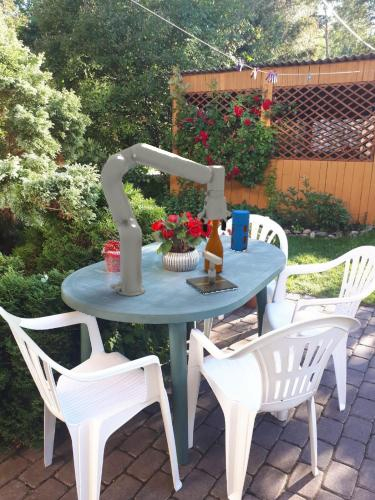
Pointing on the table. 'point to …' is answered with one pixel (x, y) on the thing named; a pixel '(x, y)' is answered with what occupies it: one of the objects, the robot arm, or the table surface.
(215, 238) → the wine bottle
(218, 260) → the t handle
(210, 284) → the post base
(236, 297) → the table surface
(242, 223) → the thermos
